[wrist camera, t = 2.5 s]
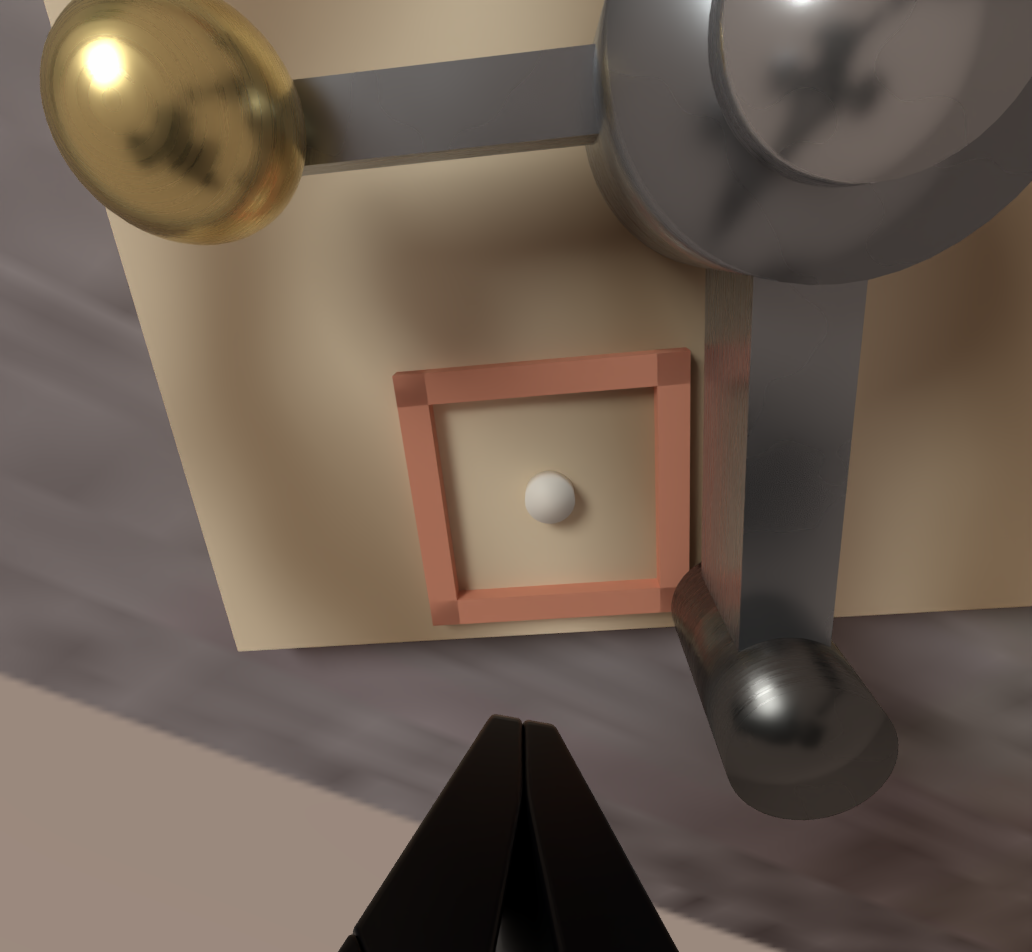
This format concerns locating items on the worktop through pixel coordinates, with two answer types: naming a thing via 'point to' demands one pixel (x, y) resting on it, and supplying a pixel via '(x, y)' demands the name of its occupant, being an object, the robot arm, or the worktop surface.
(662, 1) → the bell crank
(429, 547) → the level window
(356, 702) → the worktop surface
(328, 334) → the board
